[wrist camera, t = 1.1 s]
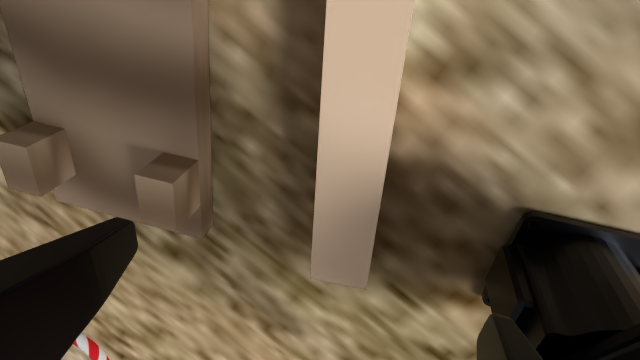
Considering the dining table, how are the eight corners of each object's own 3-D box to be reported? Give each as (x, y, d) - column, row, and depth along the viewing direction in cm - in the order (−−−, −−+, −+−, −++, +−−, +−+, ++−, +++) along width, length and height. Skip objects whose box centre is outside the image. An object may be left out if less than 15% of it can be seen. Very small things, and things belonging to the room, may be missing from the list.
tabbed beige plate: (-33, -232, 15) (-163, -286, 12) (202, -206, 14) (132, -259, 10) (74, 188, 26) (21, 223, 22) (213, 224, 24) (180, 267, 21)
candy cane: (-41, 278, 33) (113, 360, 34) (-26, 267, 34) (123, 348, 35) (-38, 322, 37) (99, 394, 39) (-24, 312, 38) (108, 382, 40)
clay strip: (349, -79, 15) (331, -88, 12) (426, -75, 15) (428, -83, 12) (323, 237, 23) (310, 278, 20) (372, 246, 23) (365, 289, 20)
